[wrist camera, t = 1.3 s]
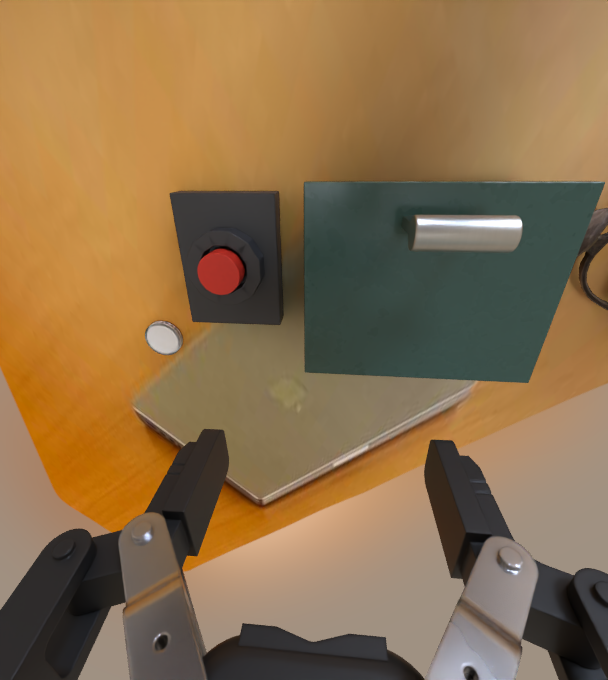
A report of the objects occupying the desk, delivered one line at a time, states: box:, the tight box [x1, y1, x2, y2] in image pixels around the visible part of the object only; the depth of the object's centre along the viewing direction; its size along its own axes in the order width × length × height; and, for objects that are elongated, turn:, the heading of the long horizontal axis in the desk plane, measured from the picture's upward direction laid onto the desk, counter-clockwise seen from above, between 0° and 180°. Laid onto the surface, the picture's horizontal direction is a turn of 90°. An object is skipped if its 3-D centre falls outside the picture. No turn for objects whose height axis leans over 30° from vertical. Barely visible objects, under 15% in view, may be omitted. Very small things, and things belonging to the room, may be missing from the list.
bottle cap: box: [145, 321, 183, 355], centre depth 37 cm, size 4×4×1 cm
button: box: [197, 248, 245, 295], centre depth 28 cm, size 4×4×2 cm
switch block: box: [170, 191, 283, 325], centre depth 31 cm, size 12×9×4 cm
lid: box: [304, 181, 605, 383], centre depth 21 cm, size 14×17×5 cm
